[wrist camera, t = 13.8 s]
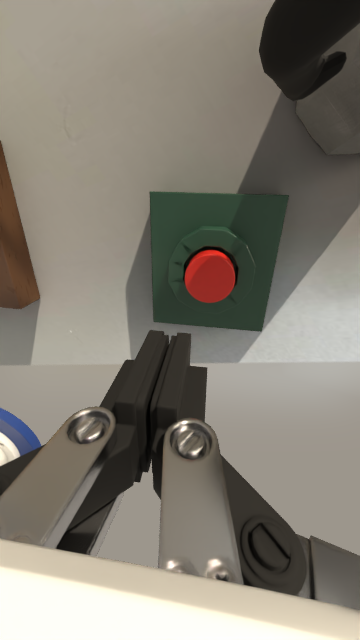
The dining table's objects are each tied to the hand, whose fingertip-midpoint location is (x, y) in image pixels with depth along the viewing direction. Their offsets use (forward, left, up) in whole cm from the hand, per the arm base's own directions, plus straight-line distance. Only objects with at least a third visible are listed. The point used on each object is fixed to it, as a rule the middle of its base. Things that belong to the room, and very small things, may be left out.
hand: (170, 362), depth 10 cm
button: (+1, -1, -11) cm, 11 cm away
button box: (+1, -1, -14) cm, 14 cm away
